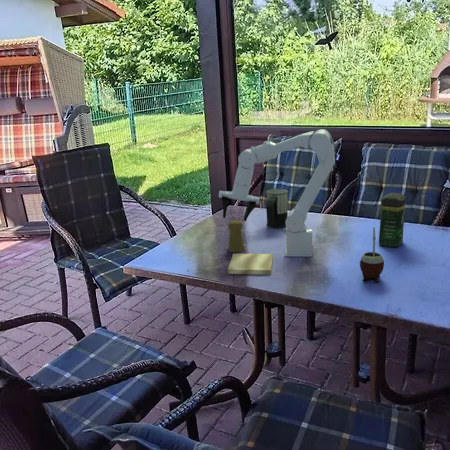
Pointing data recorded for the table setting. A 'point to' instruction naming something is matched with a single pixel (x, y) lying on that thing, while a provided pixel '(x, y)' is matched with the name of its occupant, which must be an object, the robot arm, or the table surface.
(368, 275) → the mate gourd
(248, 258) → the birch base board
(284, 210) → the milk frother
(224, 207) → the robot arm
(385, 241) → the coffee jar
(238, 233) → the cork
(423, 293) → the table surface
